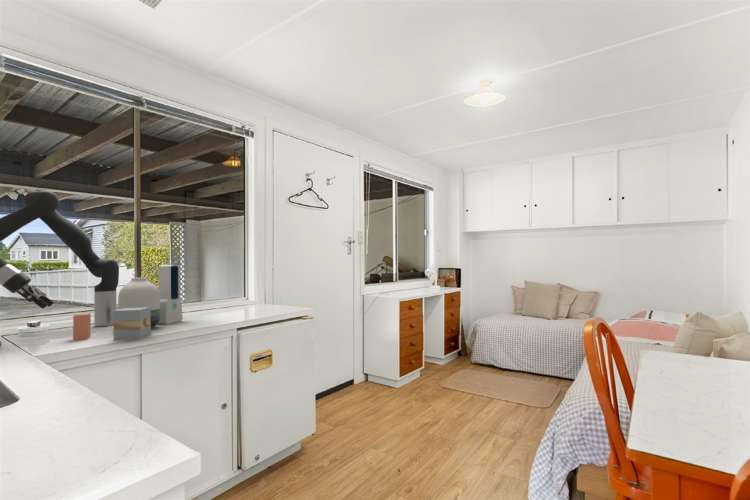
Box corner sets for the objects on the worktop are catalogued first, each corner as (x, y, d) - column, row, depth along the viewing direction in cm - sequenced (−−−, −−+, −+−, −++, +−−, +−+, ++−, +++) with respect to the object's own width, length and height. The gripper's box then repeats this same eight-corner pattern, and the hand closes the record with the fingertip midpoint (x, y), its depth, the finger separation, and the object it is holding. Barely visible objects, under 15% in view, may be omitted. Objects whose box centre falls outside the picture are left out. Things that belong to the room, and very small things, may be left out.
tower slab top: (125, 317, 166) (125, 308, 166) (150, 316, 168) (150, 307, 168) (113, 320, 156) (113, 310, 157) (139, 319, 158) (139, 309, 158)
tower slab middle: (125, 326, 166) (125, 317, 166) (150, 325, 168) (150, 316, 168) (113, 330, 156) (113, 320, 157) (140, 329, 158) (140, 319, 158)
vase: (124, 327, 188) (124, 277, 189) (163, 324, 193) (163, 276, 194) (112, 333, 172) (112, 279, 173) (155, 330, 177) (155, 277, 178)
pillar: (75, 338, 161) (75, 314, 162) (90, 337, 164) (90, 313, 164) (73, 340, 157) (73, 315, 157) (88, 338, 159) (88, 314, 160)
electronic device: (166, 324, 193) (165, 264, 194) (153, 324, 194) (152, 265, 195) (183, 321, 205) (182, 264, 206) (170, 320, 206) (170, 264, 207)
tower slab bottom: (125, 335, 166) (125, 326, 166) (150, 334, 168) (150, 325, 168) (113, 340, 156) (113, 330, 157) (140, 339, 158) (140, 329, 158)
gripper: (13, 271, 146) (52, 300, 151) (26, 271, 158) (61, 297, 163) (-6, 286, 143) (34, 315, 148) (9, 284, 156) (45, 311, 161)
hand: (48, 305), depth 156 cm, fingers open, 8 cm apart
